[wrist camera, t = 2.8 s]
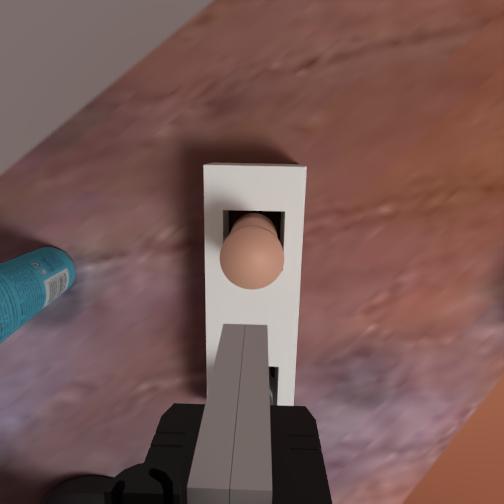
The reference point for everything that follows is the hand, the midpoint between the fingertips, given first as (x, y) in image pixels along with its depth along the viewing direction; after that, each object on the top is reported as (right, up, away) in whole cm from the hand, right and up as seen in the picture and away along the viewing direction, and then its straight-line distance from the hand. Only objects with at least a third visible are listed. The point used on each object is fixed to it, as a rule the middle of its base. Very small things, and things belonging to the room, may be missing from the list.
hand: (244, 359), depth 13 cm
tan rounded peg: (0, +5, +19) cm, 20 cm away
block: (0, -1, +25) cm, 25 cm away
